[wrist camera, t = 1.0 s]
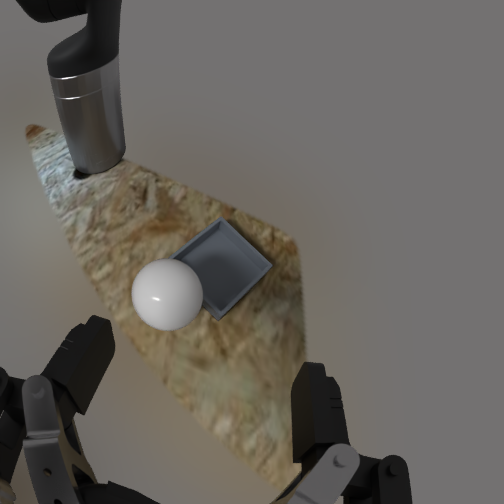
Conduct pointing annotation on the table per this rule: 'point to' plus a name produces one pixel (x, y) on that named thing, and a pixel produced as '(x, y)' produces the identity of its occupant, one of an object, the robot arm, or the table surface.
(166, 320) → the lightbulb
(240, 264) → the walled box
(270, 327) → the table surface
